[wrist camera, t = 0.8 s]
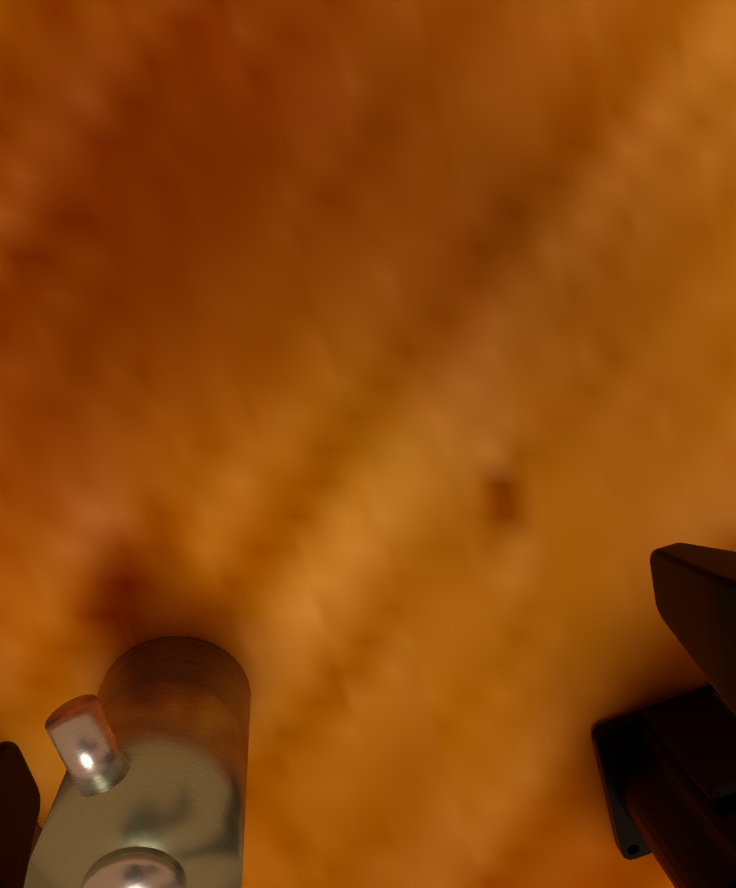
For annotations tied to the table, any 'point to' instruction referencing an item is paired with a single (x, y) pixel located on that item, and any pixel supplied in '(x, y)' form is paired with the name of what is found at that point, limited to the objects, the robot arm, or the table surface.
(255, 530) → the table surface
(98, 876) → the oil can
